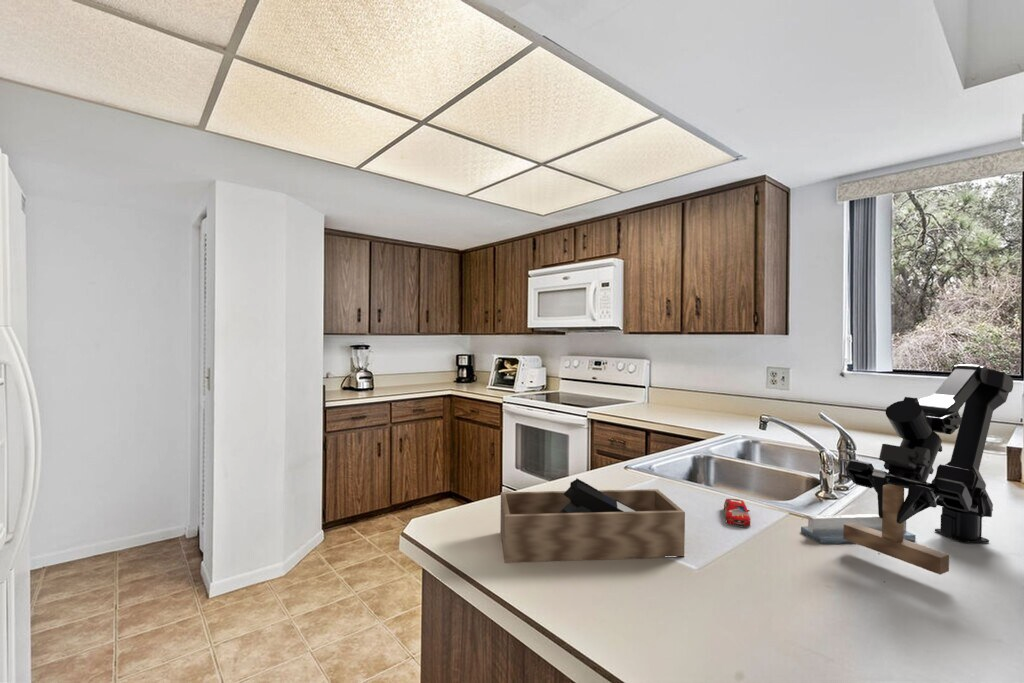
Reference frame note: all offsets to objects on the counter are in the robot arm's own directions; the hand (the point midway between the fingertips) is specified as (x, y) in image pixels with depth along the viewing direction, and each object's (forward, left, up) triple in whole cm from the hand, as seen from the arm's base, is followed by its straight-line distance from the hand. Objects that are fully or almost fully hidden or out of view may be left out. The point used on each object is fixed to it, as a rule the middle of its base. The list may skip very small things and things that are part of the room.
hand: (889, 519), depth 90 cm
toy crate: (+55, -15, -10) cm, 57 cm away
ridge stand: (-6, -15, -10) cm, 19 cm away
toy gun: (+51, -16, -10) cm, 55 cm away
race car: (+15, -27, -10) cm, 32 cm away
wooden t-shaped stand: (-1, -1, -7) cm, 7 cm away
